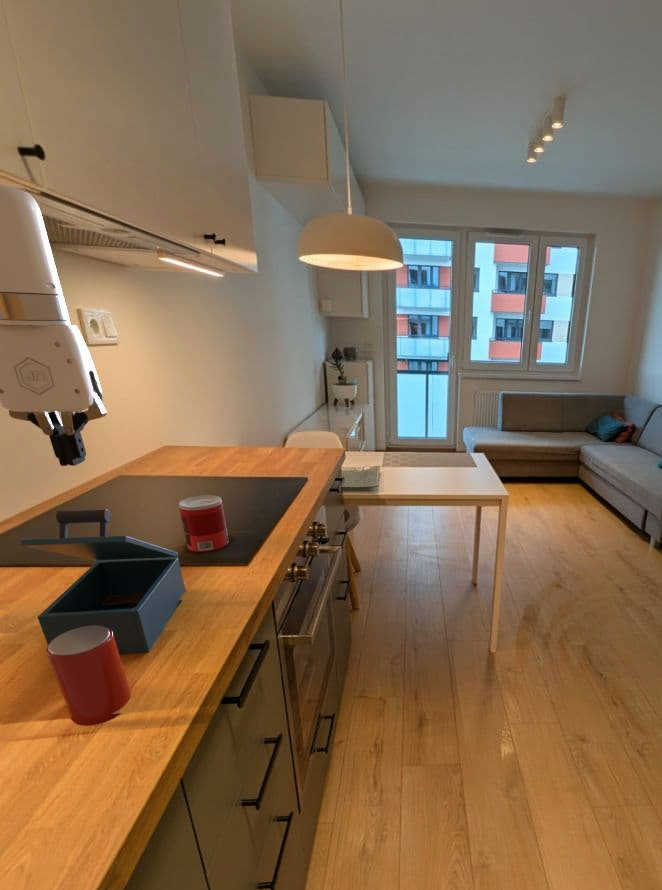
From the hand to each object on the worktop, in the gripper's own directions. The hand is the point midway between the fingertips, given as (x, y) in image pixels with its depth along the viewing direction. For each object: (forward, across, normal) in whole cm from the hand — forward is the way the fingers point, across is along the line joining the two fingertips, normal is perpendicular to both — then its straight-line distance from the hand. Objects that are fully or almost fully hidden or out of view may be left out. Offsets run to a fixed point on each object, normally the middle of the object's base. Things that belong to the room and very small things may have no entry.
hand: (73, 462), depth 68 cm
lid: (+14, 0, +3) cm, 15 cm away
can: (+27, +4, -17) cm, 32 cm away
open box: (+27, 0, +2) cm, 27 cm away
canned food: (+27, +5, +31) cm, 41 cm away
